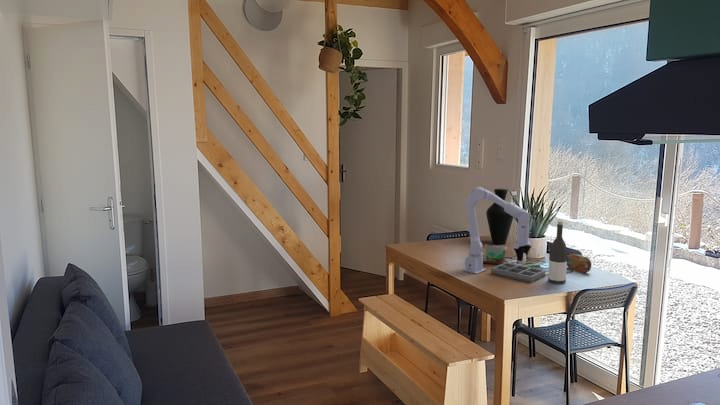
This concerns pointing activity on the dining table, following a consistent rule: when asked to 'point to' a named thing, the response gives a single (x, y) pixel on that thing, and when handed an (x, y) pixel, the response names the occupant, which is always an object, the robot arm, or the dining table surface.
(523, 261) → the egg
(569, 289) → the dining table surface
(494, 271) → the grey compartment tray
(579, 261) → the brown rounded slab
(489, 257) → the food container
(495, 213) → the vase
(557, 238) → the wine bottle
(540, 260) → the dining table surface
